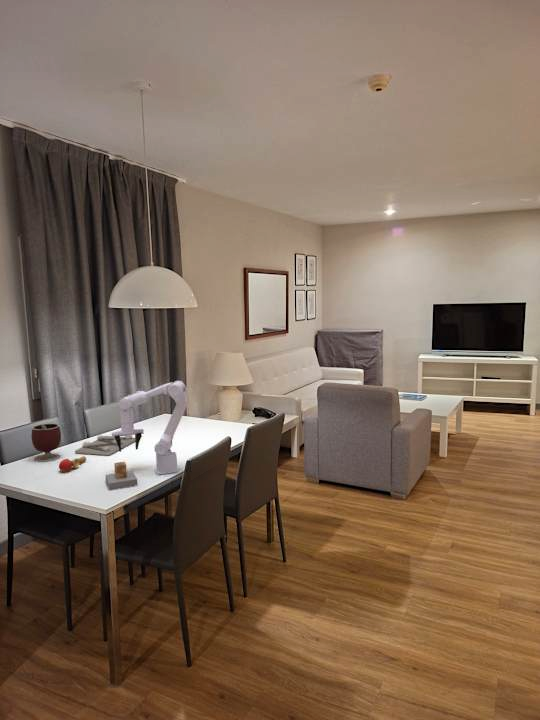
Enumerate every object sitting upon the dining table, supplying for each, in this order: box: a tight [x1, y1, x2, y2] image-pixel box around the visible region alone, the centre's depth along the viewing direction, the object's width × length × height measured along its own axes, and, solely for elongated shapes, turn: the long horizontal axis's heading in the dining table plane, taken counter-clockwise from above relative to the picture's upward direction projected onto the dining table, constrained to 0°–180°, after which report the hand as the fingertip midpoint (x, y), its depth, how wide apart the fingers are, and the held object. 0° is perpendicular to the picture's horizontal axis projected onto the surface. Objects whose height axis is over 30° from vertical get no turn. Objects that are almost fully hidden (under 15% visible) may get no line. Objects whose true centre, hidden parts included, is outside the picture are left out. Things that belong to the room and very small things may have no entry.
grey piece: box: [74, 434, 136, 457], centre depth 280 cm, size 30×22×7 cm
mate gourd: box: [30, 422, 62, 463], centre depth 258 cm, size 16×14×20 cm
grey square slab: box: [105, 470, 138, 491], centre depth 224 cm, size 12×12×3 cm
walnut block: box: [113, 461, 128, 479], centre depth 223 cm, size 4×4×6 cm
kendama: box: [58, 456, 87, 473], centre depth 246 cm, size 8×6×18 cm
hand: (128, 450), depth 239 cm, fingers open, 7 cm apart
